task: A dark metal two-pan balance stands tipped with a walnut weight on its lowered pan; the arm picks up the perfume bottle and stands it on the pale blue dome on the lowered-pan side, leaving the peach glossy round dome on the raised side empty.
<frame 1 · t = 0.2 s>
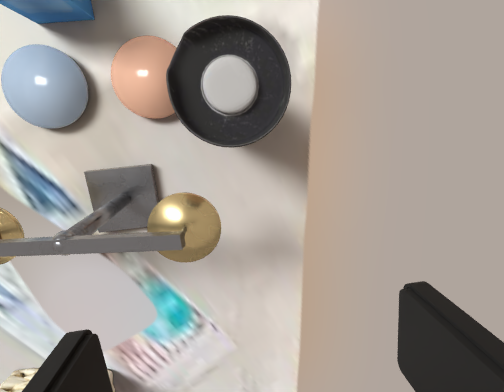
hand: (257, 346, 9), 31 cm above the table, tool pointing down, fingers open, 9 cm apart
balance: (126, 197, 38), on the table
peach glossy round dome: (153, 79, 35), on the table
pale blue dome: (50, 88, 34), on the table
travel mug: (227, 105, 37), on the table
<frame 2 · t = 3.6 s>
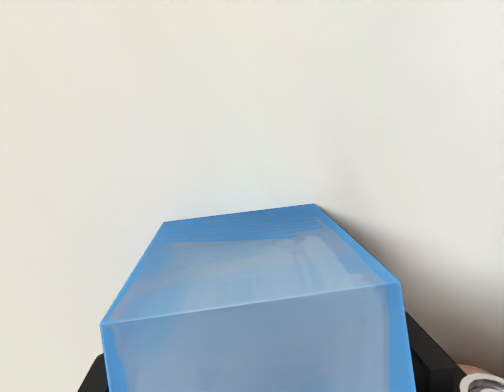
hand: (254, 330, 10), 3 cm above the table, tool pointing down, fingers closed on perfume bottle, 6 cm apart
perfume bottle: (247, 277, 13), on the table, touching gripper
when the fingers open (5 cm above the table, at t = 8.6 s): perfume bottle drops 1 cm, resting on pale blue dome.
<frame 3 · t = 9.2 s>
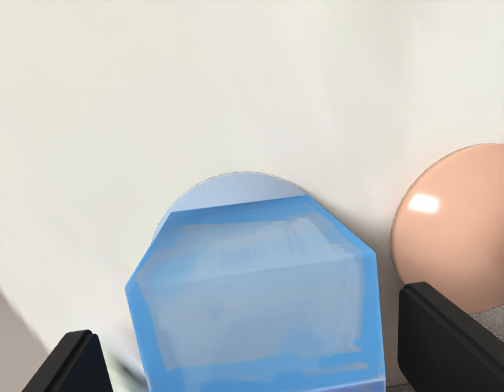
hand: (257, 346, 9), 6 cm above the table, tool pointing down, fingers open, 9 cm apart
peach glossy round dome: (464, 226, 16), on the table
perfume bottle: (247, 263, 14), point 1 cm above the table, touching pale blue dome
pale blue dome: (244, 256, 15), on the table
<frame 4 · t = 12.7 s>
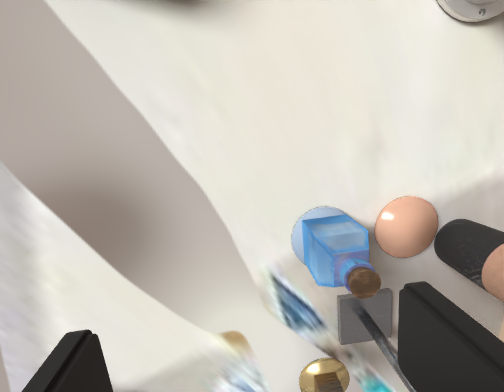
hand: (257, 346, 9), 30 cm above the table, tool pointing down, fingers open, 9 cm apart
balance: (363, 314, 45), on the table
peach glossy round dome: (402, 225, 42), on the table
perfume bottle: (324, 237, 40), point 1 cm above the table, touching pale blue dome
pale blue dome: (321, 235, 41), on the table
travel mug: (455, 240, 44), on the table
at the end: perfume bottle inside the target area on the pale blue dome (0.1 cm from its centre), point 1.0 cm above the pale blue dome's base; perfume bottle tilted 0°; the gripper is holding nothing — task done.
